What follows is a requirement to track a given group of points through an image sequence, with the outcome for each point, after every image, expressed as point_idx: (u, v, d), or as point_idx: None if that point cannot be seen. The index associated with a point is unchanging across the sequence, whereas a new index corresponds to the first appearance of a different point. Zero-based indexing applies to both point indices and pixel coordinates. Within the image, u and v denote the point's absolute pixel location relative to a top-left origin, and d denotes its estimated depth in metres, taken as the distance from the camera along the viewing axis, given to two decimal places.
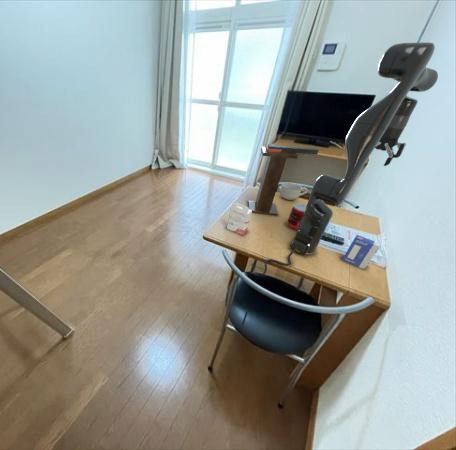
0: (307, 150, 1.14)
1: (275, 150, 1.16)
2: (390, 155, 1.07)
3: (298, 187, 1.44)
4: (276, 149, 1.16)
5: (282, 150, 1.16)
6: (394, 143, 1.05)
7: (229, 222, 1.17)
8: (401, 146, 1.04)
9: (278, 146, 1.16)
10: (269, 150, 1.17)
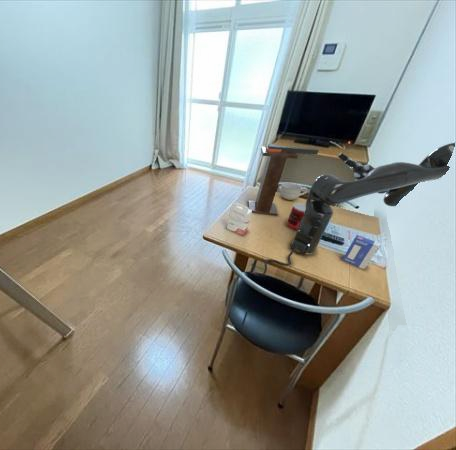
0: (307, 150, 1.14)
1: (275, 150, 1.16)
2: (357, 164, 1.10)
3: (298, 187, 1.44)
4: (276, 149, 1.16)
5: (282, 150, 1.16)
6: (364, 170, 1.11)
7: (229, 222, 1.17)
8: (366, 171, 1.09)
9: (278, 146, 1.16)
10: (269, 150, 1.17)
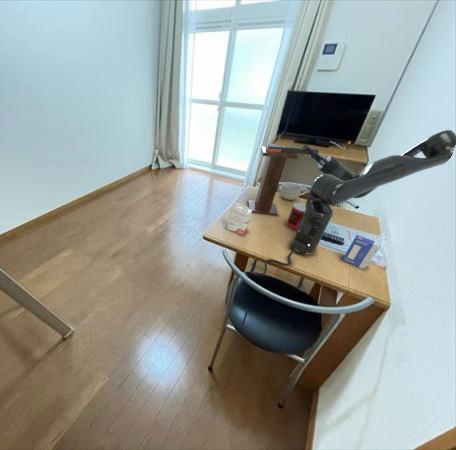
0: None
1: (275, 150, 1.16)
2: (315, 152, 1.13)
3: (298, 187, 1.44)
4: (276, 149, 1.16)
5: (282, 150, 1.16)
6: (326, 161, 1.12)
7: (229, 222, 1.17)
8: (324, 159, 1.10)
9: (278, 146, 1.16)
10: (269, 150, 1.17)
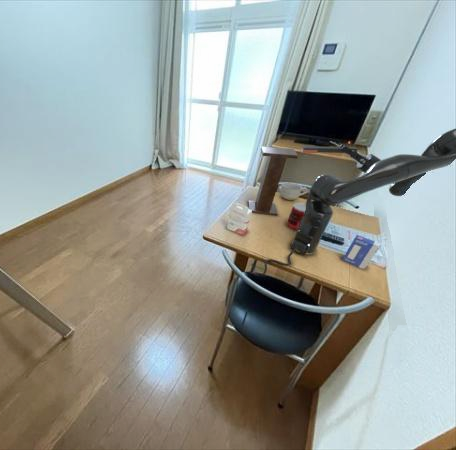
0: None
1: (311, 151, 1.14)
2: (354, 151, 1.10)
3: (298, 187, 1.44)
4: (312, 150, 1.14)
5: (318, 151, 1.14)
6: (366, 159, 1.09)
7: (229, 222, 1.17)
8: (365, 158, 1.07)
9: (313, 147, 1.14)
10: (304, 151, 1.15)
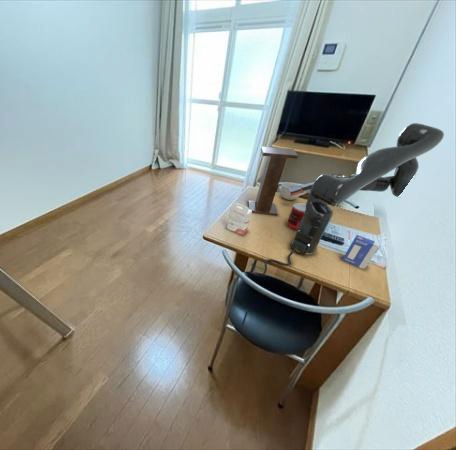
0: None
1: (297, 192, 1.28)
2: None
3: None
4: (297, 191, 1.28)
5: (303, 189, 1.28)
6: None
7: (229, 222, 1.17)
8: None
9: (298, 188, 1.29)
10: (292, 195, 1.30)
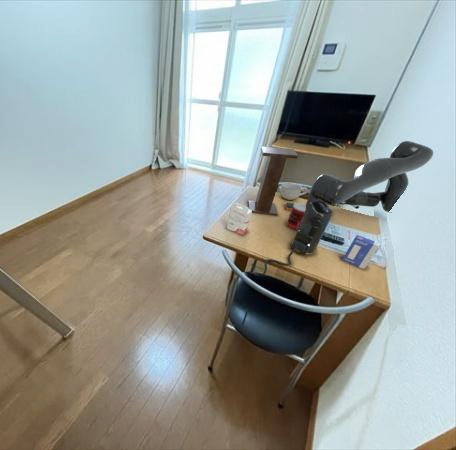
0: None
1: None
2: None
3: (298, 187, 1.44)
4: None
5: None
6: None
7: (229, 222, 1.17)
8: None
9: None
10: (287, 209, 1.34)
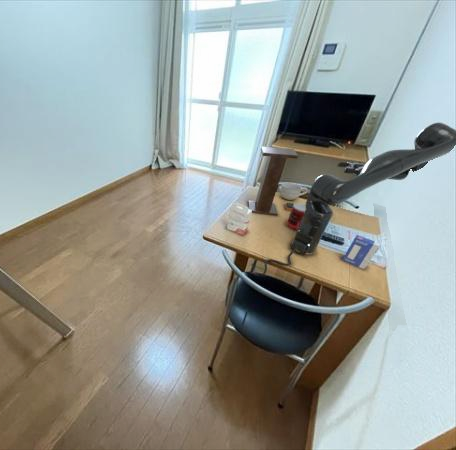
0: None
1: None
2: (357, 169, 1.14)
3: (298, 187, 1.44)
4: None
5: None
6: None
7: (229, 222, 1.17)
8: None
9: None
10: (287, 209, 1.34)
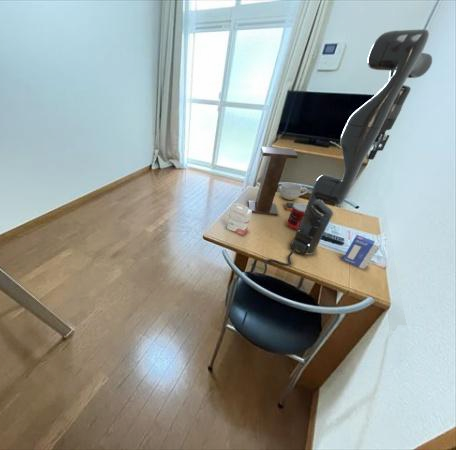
0: None
1: None
2: (372, 147, 1.01)
3: (298, 187, 1.44)
4: None
5: None
6: (378, 134, 0.98)
7: (229, 222, 1.17)
8: (380, 137, 0.97)
9: None
10: (287, 209, 1.34)
